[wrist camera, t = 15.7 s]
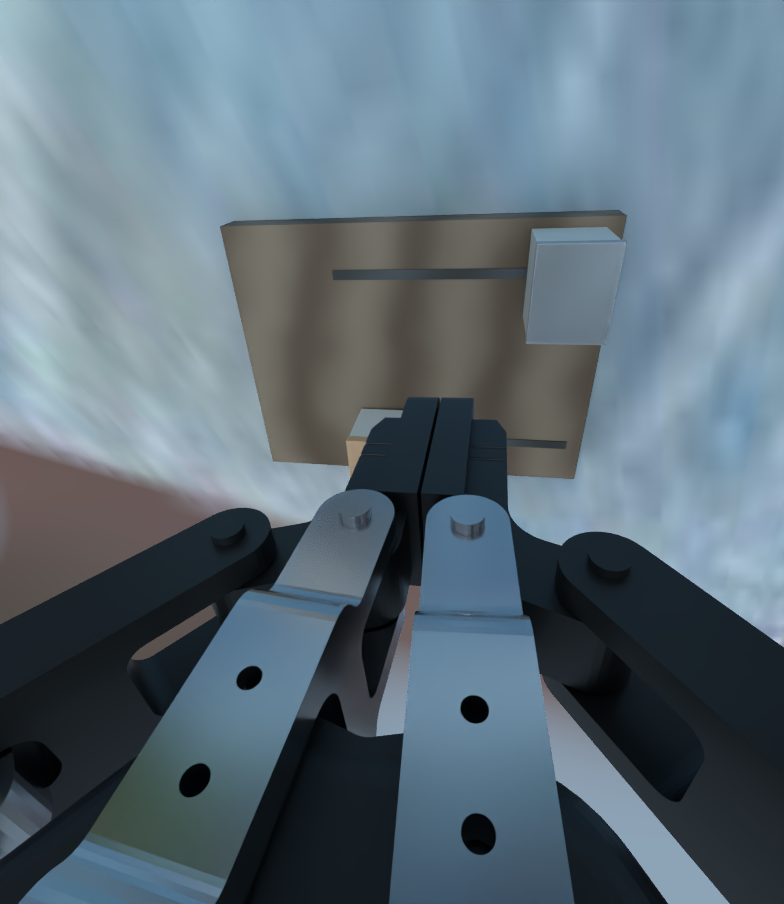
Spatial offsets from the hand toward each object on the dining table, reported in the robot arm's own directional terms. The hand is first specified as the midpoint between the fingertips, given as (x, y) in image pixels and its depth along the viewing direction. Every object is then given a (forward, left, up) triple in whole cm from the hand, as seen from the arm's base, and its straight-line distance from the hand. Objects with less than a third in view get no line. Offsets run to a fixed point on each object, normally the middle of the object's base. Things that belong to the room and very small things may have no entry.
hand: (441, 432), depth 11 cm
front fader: (-5, +2, -21) cm, 22 cm away
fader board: (+4, +8, -23) cm, 25 cm away
